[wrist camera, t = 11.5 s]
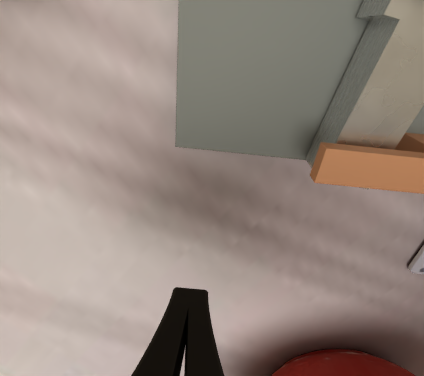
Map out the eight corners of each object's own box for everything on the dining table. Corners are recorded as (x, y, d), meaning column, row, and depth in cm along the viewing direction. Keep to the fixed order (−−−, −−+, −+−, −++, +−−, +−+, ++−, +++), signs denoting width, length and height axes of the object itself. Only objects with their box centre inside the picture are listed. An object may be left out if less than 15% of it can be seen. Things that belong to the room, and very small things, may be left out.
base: (546, -119, 11) (817, -244, 6) (399, 163, 17) (467, 214, 13) (186, -164, 10) (154, -336, 6) (177, 140, 17) (160, 184, 12)
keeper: (427, 134, 15) (497, 170, 11) (412, 161, 16) (472, 203, 12) (302, 121, 15) (330, 152, 11) (294, 149, 16) (317, 188, 12)
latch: (414, -114, 10) (465, -153, 8) (511, -79, 10) (585, -107, 8) (294, 155, 16) (305, 174, 14) (359, 171, 17) (379, 192, 14)
